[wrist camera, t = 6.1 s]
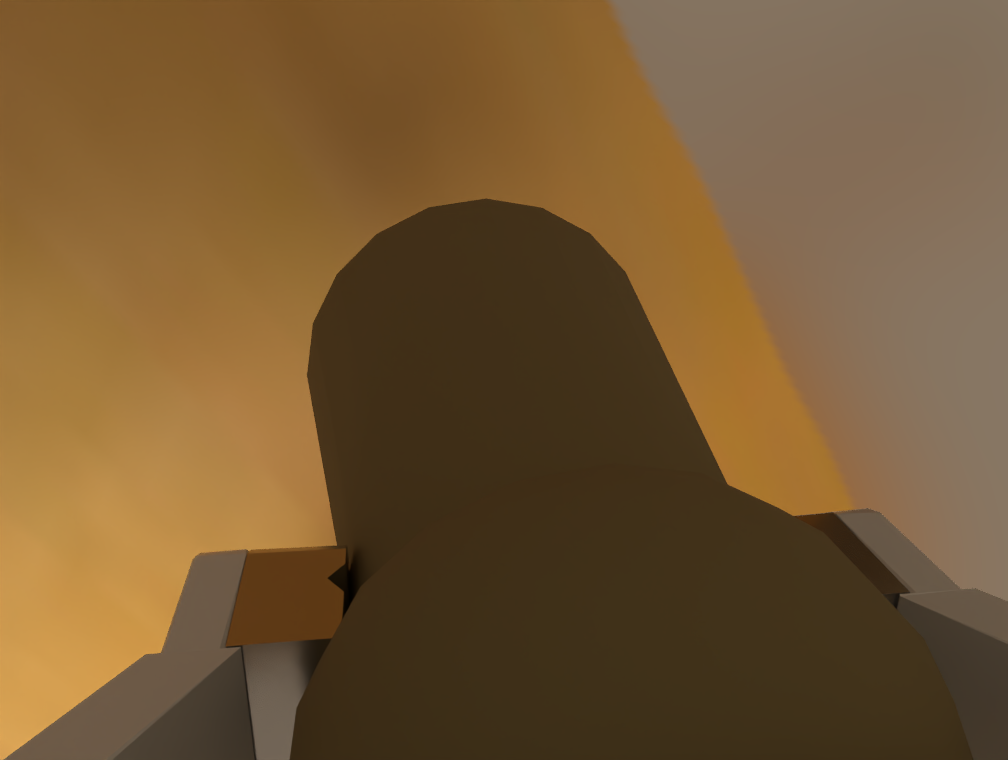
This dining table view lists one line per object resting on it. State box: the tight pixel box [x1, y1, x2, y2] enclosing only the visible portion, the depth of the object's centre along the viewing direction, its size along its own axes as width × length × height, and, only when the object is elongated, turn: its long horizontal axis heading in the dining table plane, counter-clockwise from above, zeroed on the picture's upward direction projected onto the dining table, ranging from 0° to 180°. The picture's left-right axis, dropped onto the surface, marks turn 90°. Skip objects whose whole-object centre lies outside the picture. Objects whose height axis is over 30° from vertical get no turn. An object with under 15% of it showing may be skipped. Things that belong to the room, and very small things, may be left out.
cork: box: [290, 199, 973, 760], centre depth 10 cm, size 6×6×11 cm
